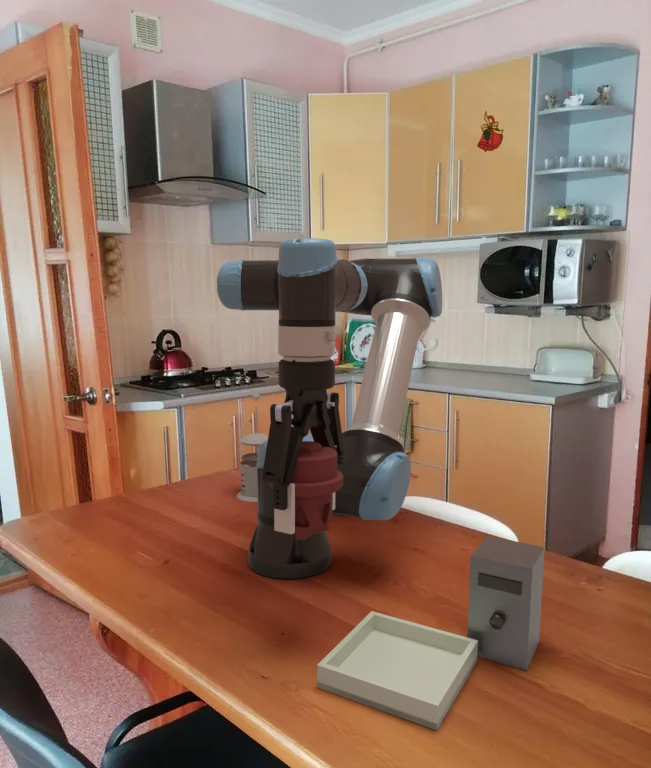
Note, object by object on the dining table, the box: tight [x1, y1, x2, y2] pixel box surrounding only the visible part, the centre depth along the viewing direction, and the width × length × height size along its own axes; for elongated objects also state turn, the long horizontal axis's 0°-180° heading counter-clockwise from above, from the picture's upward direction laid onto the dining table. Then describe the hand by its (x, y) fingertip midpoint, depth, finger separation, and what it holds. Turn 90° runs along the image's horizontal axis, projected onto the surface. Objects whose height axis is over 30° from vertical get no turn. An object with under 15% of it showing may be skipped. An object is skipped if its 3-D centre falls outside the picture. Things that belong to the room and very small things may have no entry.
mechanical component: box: [270, 441, 343, 540], centre depth 86 cm, size 12×10×10 cm
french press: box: [236, 393, 269, 503], centre depth 152 cm, size 10×12×25 cm
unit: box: [467, 535, 546, 672], centre depth 86 cm, size 8×9×14 cm
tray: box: [316, 610, 478, 731], centre depth 81 cm, size 16×16×3 cm
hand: (306, 519), depth 87 cm, fingers closed on mechanical component, 10 cm apart
